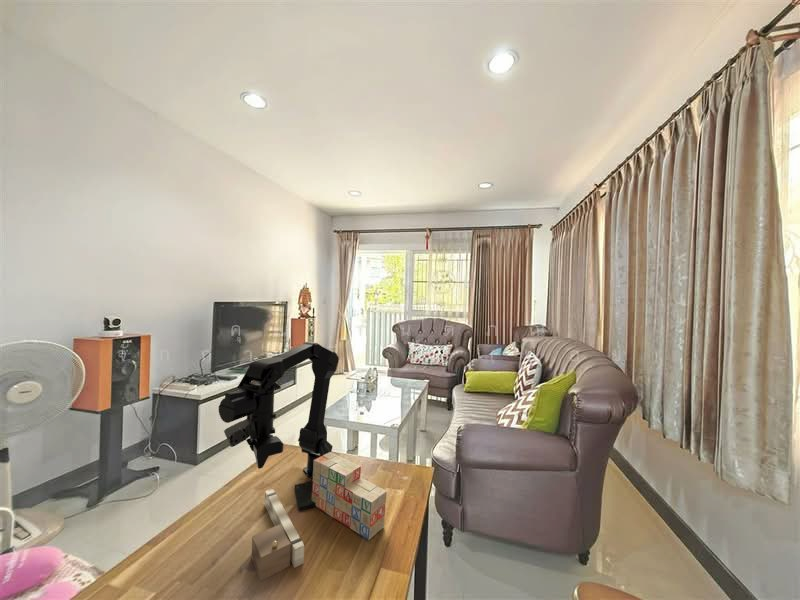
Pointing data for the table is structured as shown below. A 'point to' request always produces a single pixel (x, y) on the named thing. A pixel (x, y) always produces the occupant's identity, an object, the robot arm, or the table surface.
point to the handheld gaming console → (304, 495)
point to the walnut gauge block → (270, 551)
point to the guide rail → (285, 526)
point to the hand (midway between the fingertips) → (260, 467)
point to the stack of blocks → (348, 495)
